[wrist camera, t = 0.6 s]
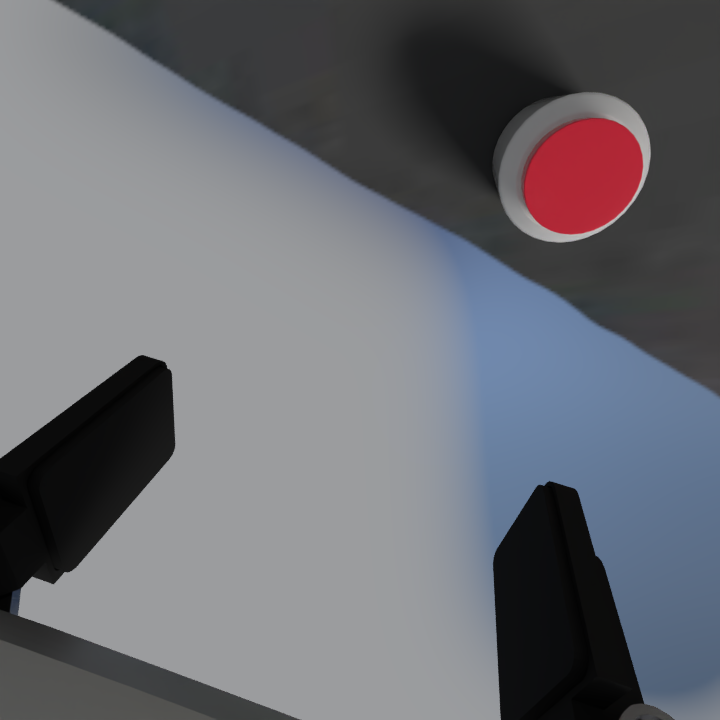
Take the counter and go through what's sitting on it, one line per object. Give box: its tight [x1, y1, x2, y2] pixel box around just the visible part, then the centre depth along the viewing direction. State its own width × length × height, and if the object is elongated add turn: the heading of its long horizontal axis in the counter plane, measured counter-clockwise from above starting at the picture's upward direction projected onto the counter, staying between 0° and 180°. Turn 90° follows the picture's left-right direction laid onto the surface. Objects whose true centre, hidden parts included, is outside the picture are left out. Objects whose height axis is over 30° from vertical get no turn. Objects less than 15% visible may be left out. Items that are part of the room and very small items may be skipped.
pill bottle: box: [493, 92, 651, 242], centre depth 26 cm, size 8×8×11 cm
